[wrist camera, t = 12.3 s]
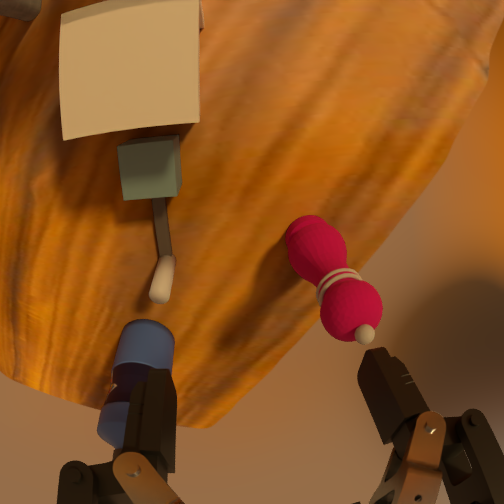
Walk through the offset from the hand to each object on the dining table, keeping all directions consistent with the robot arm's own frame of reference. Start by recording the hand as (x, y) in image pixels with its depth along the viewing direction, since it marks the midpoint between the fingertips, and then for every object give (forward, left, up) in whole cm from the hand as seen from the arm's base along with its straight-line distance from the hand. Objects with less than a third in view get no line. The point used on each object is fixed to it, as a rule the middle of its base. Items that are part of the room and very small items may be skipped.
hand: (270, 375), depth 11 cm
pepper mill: (+8, +10, -28) cm, 31 cm away
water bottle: (+26, -15, -28) cm, 41 cm away
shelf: (-14, -9, -28) cm, 33 cm away
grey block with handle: (+3, -9, -28) cm, 30 cm away
